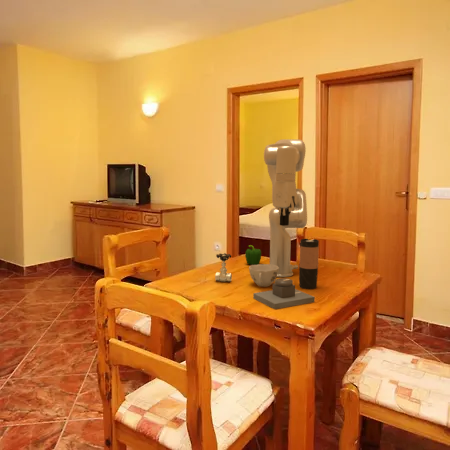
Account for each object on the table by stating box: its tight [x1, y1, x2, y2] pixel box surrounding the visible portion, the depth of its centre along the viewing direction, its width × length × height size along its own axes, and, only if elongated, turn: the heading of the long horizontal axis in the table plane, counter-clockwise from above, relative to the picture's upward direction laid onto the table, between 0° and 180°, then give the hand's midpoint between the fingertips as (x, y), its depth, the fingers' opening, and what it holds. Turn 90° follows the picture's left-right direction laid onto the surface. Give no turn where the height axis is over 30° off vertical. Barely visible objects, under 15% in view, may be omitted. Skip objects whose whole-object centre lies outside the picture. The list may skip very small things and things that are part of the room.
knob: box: [272, 277, 296, 298], centre depth 154 cm, size 7×7×6 cm
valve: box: [215, 252, 232, 283], centre depth 179 cm, size 7×7×12 cm
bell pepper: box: [245, 244, 262, 266], centre depth 213 cm, size 8×8×10 cm
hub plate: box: [253, 288, 315, 310], centre depth 154 cm, size 18×14×6 cm
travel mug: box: [298, 238, 320, 290], centre depth 172 cm, size 8×8×20 cm
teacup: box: [248, 263, 279, 288], centre depth 174 cm, size 15×12×8 cm
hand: (284, 225), depth 162 cm, fingers closed
